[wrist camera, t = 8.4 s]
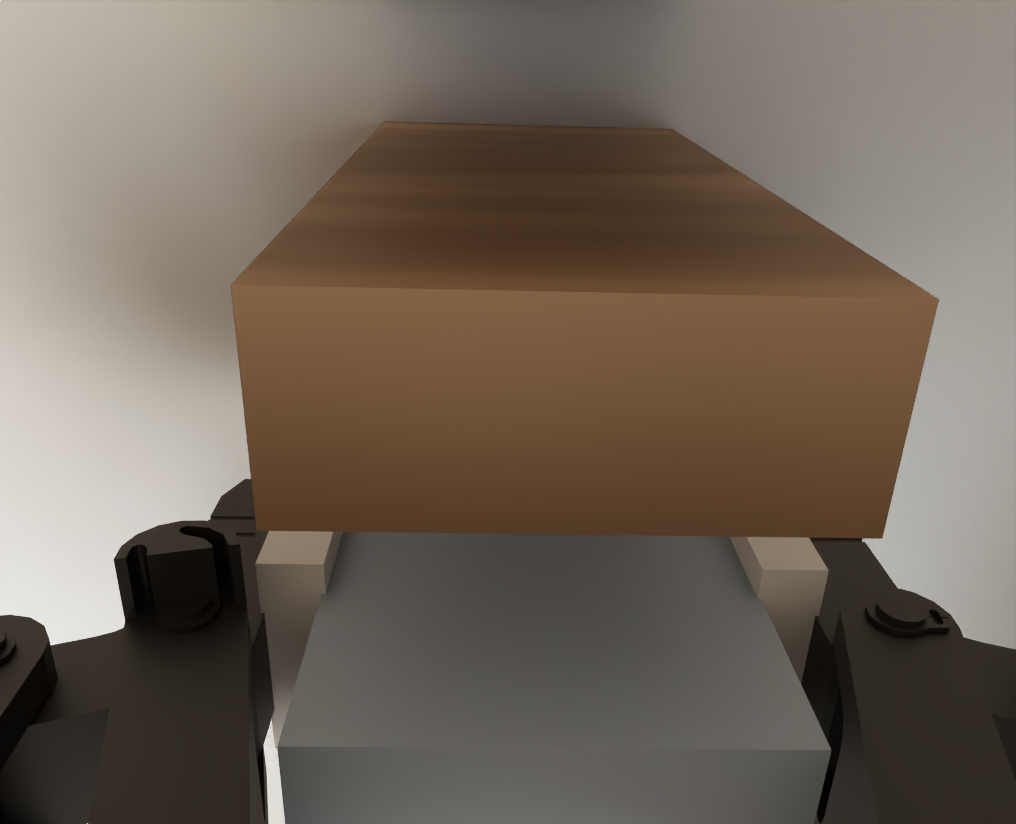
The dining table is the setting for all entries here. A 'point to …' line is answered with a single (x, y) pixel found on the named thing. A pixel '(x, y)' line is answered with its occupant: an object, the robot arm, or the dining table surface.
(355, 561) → the domino
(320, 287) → the domino
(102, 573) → the dining table surface
